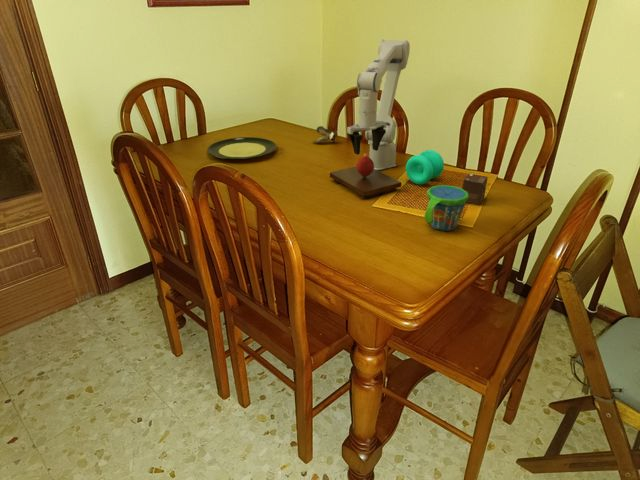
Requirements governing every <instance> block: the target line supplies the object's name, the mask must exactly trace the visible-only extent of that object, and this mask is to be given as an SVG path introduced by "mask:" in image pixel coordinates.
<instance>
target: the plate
mask: <svg viewBox="0 0 640 480" xmlns="http://www.w3.org/2000/svg"><path fill="white" fill-rule="evenodd" d="M277 148H278V145H277V144H276V142H275V141H272V140H271V139H267V138H262V137H255V136H253V137H251V136H250V137H249V136H242V137H240V136H239V137H233V138H232V137H231V138H226V139H221V140H219V141H215V142H214V143H211V144H210V145H209V146H208V147H207V148H206V153H207V154H208V155H210V156H212V157H215V158H218V159H222V160H229V161H244V160H253V159H258V158H262V157H265V156H267V155H270V154H271V153H273V152H275V151H276V150H277Z"/></svg>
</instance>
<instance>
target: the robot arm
mask: <svg viewBox="0 0 640 480" xmlns="http://www.w3.org/2000/svg"><path fill="white" fill-rule="evenodd" d="M410 49H411V47H410V42H409V40H407V39H406V40H398V39H397V40H396V39H394V40H393V39H381V41H379V44H378V49H377V51H378V52H377V53H378V56H377V58H376V57H375V58H373V59H372V60H371V61H370V63H369V64H368V66H367V67H366V69H365V71H363V70H362V71H361V72H359V73H358V75H357V79H356V89H357V96H358V98H359V99H358V103H359V104H358V123H355V124H354V125H350V126H347V127H346V133H347V135H348V138H349V139H350V141H351V144H352V149H353V154H355V155H357V156H358V155H360V153H361V143H362V139H363V135H362V134H360V133H362V132H365V133H364V137H365V140H366V141H367V142H368V144H369V153H368V157H369V158H370V159H371V160H372V161H373V163H374V169H375V170H378V171H381V170H382V171H383V170H387V169H390V168H394V167H397V164H396V157H397V156H396V155H397V146H396V144H395V142H394V141H395V139H396V129H397V123H396V121H395V119H393V118H392V111H393V106H394V102H395V98H396V92H397V88H398V83H399V79H400V76H401V73H402V71H403V70H405V69H406V68H407V66H408V65H407V64H408V63H409V57H410V51H411V50H410ZM384 75H385V77H384ZM383 77H384V82H383ZM382 83H383V85H382ZM381 86H382V90H381V95H380V99H379V103H378V97H379V96H378V95H379V94H378V93H379V91H380V89H381ZM378 104H379V105H378Z"/></svg>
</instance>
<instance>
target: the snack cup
mask: <svg viewBox="0 0 640 480" xmlns="http://www.w3.org/2000/svg"><path fill="white" fill-rule="evenodd" d="M426 195H427V198H428V204H427V207H426V210H425V214H424V217H423V218H424V221H425V222H426V223H428V224H430V226H431V227H432V228H433V229H434V230H438V231H443V232H451V231H452V230H455V229H457V228H458V225H459V222H460V219H461V217H462V214H463V211H464V208H465V206H466V203H467V202H466V201H467V200H468V197H469V196H468V193H467V192H466V191H465V190H463V189H462V187H458V186H454V185H449V184H448V185H446V184H445V185H443V184H441V185H434V186H431V187H430V188H428V190H426Z"/></svg>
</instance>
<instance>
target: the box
mask: <svg viewBox="0 0 640 480" xmlns="http://www.w3.org/2000/svg"><path fill="white" fill-rule="evenodd" d="M488 178H489V177H488V176H485V175H478V174H473V173H468V174H467V175H466V176H465V177H464V178H463V180H462V187H461V189H463V190H465V191H466V192H467V193H468V196H469V197H468V200H467V201H466V202H465V203H467V204H473V205H478V206H480V205H481V203H482V202H483V201H484V200H485V195H486V191H487V184H488Z"/></svg>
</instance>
